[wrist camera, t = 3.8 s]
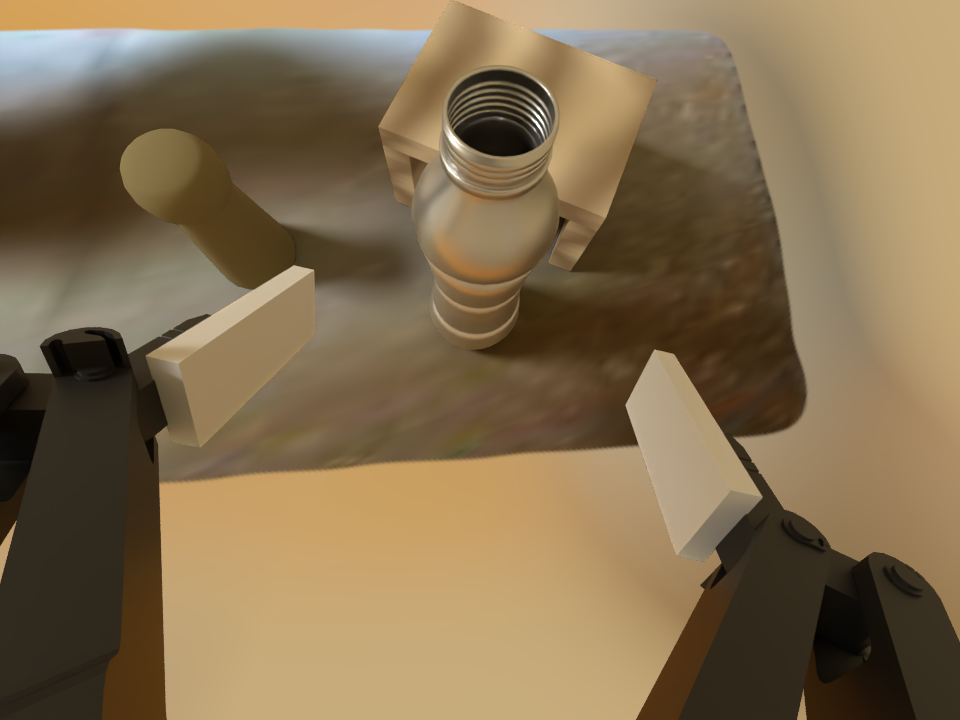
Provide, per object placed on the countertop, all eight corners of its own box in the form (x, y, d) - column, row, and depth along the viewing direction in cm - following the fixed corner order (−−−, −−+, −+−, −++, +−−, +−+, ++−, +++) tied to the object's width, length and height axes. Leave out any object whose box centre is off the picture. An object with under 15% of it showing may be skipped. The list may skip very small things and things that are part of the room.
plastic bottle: (521, 348, 31) (633, 187, 12) (438, 363, 31) (410, 219, 11) (505, 274, 33) (581, 19, 13) (424, 287, 32) (377, 37, 12)
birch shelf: (396, 201, 33) (378, 126, 26) (451, 95, 36) (450, -1, 28) (570, 271, 33) (605, 218, 25) (612, 160, 36) (657, 80, 28)
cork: (310, 238, 32) (237, 135, 21) (271, 301, 31) (173, 224, 20) (244, 209, 32) (139, 92, 22) (203, 270, 31) (70, 178, 20)
